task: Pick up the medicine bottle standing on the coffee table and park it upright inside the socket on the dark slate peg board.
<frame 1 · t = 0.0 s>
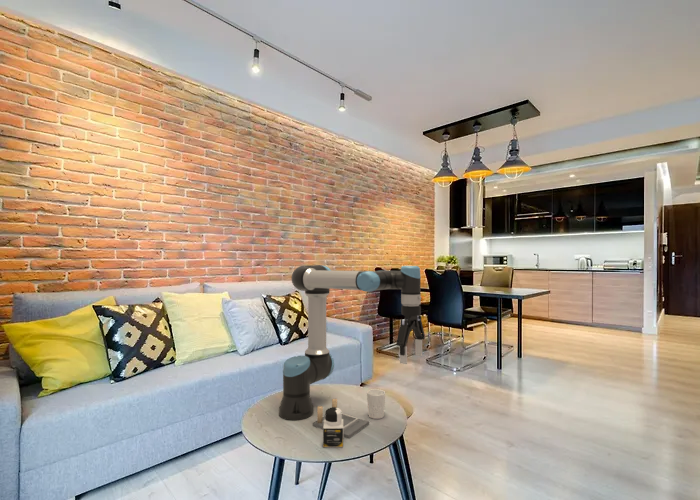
hand: (411, 359, 137), 28 cm above the table, fingers open, 13 cm apart
white cup: (376, 416, 151), on the table
medicine bottle: (333, 443, 129), on the table
peg board: (340, 425, 142), on the table
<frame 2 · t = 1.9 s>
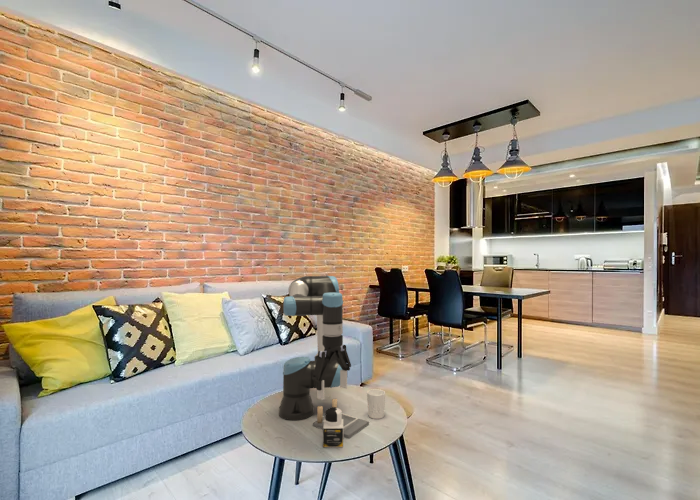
hand: (332, 393, 129), 18 cm above the table, fingers open, 13 cm apart
nothing on the table moved.
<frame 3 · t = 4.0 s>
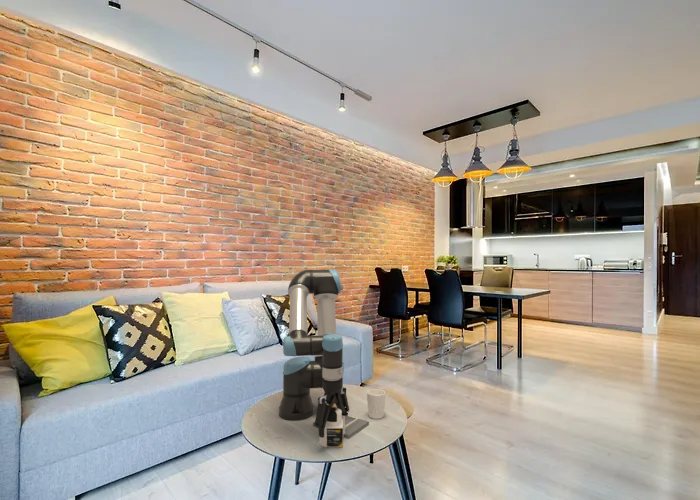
hand: (332, 438, 128), 1 cm above the table, fingers open, 10 cm apart
medicine bottle: (333, 443, 129), on the table, touching gripper
everything else where it was.
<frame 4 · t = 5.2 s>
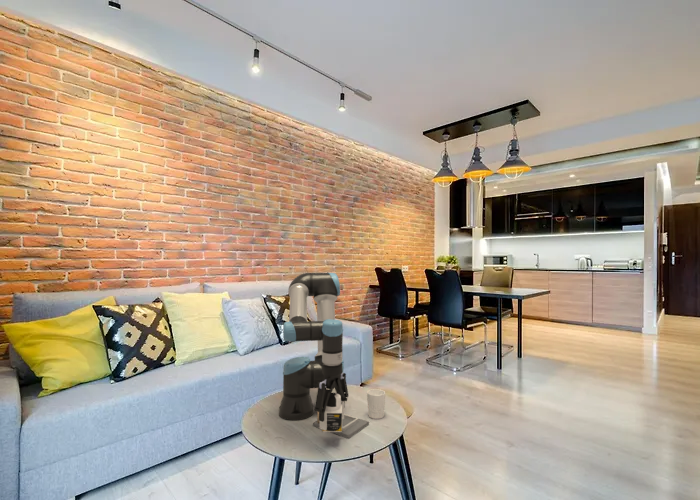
hand: (332, 423, 129), 7 cm above the table, fingers closed on medicine bottle, 10 cm apart
medicine bottle: (332, 427, 129), point 5 cm above the table, touching gripper
everything else where it was.
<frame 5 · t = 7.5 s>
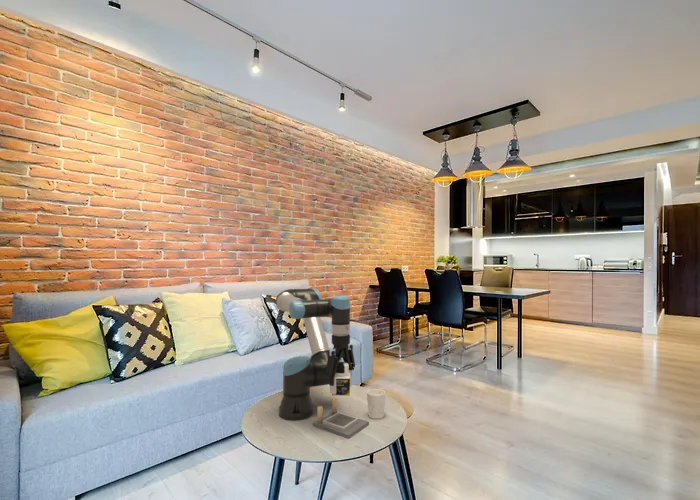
hand: (340, 389, 143), 14 cm above the table, fingers closed on medicine bottle, 10 cm apart
medicine bottle: (341, 393, 143), point 13 cm above the table, touching gripper
everything else where it was.
when the fingers open (4 cm above the table, at t = 10.1 s): medicine bottle stays where it is, resting on peg board.
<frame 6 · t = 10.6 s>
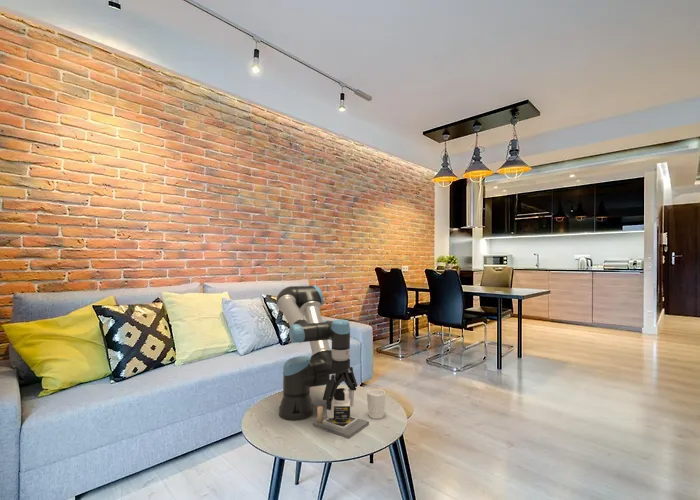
hand: (340, 411, 142), 6 cm above the table, fingers open, 13 cm apart
medicine bottle: (341, 420, 142), point 2 cm above the table, touching peg board
everything else where it was.
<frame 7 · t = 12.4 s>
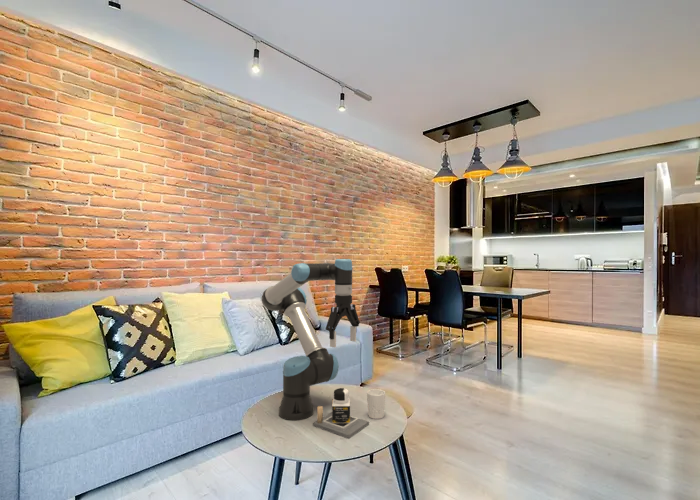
hand: (343, 343, 151), 31 cm above the table, fingers open, 13 cm apart
nothing on the table moved.
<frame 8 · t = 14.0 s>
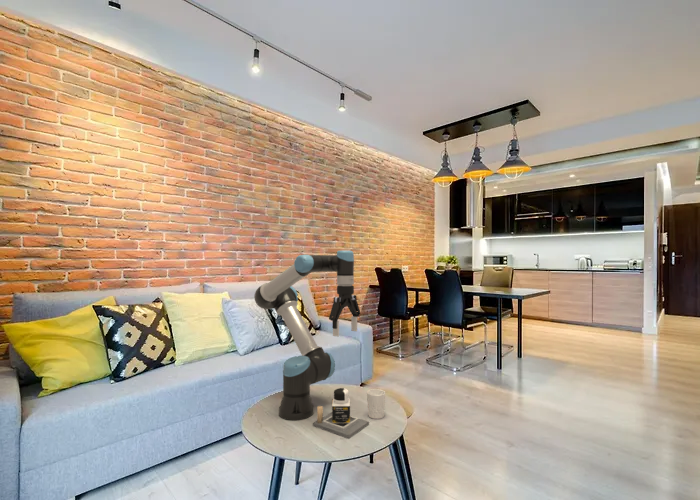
hand: (345, 333, 155), 35 cm above the table, fingers open, 13 cm apart
nothing on the table moved.
at the end: medicine bottle 0.2 cm off-centre on the peg board, point 2.0 cm above the peg board's base; medicine bottle tilted 0°; the gripper is holding nothing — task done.
